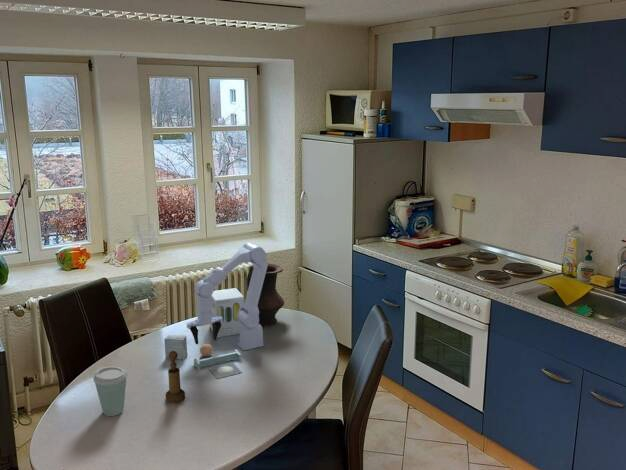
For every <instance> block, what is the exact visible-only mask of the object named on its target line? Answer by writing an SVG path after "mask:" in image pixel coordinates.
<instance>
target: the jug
mask: <svg viewBox="0 0 626 470" xmlns="http://www.w3.org/2000/svg"><path fill="white" fill-rule="evenodd" d="M267 264H268V266H267V270H266V274H265V278H264V282H263V286H262V289H261V293H260V297H259V301H258V305H257V306H258V310H259V323H258V324H260V325H261V326H262V327H272V326H274V325H276V324H277V322H278V319H277V318H276V315H277V313H278V312H279V311H280V310H281V309H282V308H283V306H285V300H284V298H283V297H282V296H281V294H280V293H279V292H278V291H277V287H276V286H277V280H278V279H277V278H278V274H279V273H282V272H283V271H284V269H283V267H282V266H280V265H277V264H273V263H269V262H267ZM253 269H254V266H253V264H251V265H250V266H249V267H248V273H247V276H246V289H247V290H246V293H247V292H248V288H249V284H250V280H251V276H252V273H253Z"/></svg>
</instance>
